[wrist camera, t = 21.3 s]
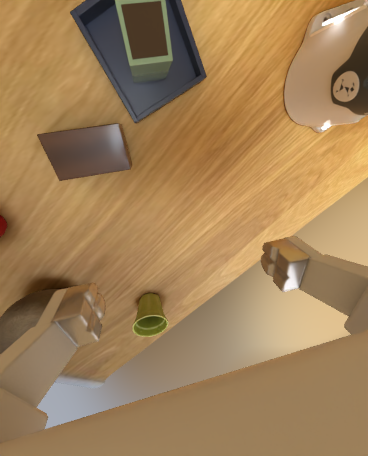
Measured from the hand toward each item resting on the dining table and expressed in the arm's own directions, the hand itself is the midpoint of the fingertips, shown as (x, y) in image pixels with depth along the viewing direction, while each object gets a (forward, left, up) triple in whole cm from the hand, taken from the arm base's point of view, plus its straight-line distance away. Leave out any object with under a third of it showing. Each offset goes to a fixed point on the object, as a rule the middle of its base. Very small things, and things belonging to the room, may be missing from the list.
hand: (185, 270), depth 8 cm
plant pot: (+23, +33, -31) cm, 51 cm away
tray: (-8, -14, -31) cm, 35 cm away
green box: (-6, -10, -30) cm, 32 cm away
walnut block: (+8, -7, -31) cm, 33 cm away
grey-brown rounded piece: (+40, +15, -31) cm, 53 cm away
